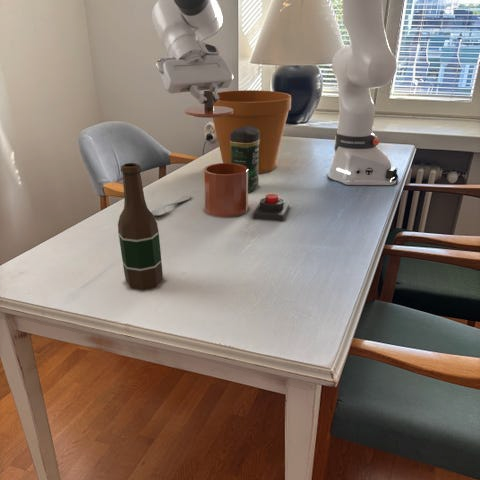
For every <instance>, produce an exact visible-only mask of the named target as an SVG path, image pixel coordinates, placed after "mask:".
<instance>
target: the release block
mask: <svg viewBox="0 0 480 480" xmlns="http://www.w3.org/2000/svg"><path fill="white" fill-rule="evenodd" d="M265 200H266V197H263V198H261V199H260V200H259V203H258V205H257V207H256V208H255V210H254V212H253V220H262V221H263V220H264V221H277V222H283V221H284V220H285V217H286V214H287V212H288V210H289V207H290V205H289V204H290V202H289V201H285V200H284V199H283V198H280V197H279V202H278V203H274V204H271V203H266V202H265Z"/></svg>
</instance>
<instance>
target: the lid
mask: <svg viewBox="0 0 480 480" xmlns="http://www.w3.org/2000/svg"><path fill="white" fill-rule="evenodd" d="M203 94H205V96H206V98H207V102H206V103H205V104H203V105H198V106H191V107H187V108H185V109H184V114H186V115H187V116H192V117H195V118H203V119H205V118H206V119H207V118H208V119H211V118H212V119H213V118H215V117H222V116H225V115H229V114H232V113H233V112H234V110H233V109H232V108H229V107H223V106H214V91H209V90H203Z"/></svg>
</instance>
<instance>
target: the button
mask: <svg viewBox="0 0 480 480" xmlns="http://www.w3.org/2000/svg"><path fill="white" fill-rule="evenodd" d="M265 198H266V200H265V202H266V203H271V204H274V203H278V202H279V198H280V196H279V194H275V193H268V194H265Z"/></svg>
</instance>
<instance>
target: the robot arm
mask: <svg viewBox="0 0 480 480" xmlns="http://www.w3.org/2000/svg"><path fill="white" fill-rule="evenodd" d="M151 19H152V24H153V27H154V29H155V32H156V34H157V37H158V38H159V40H160V43H161V44H162V45H163V46H164V48H165V50H166V54H167V56H168V57H165V58H164V57H161V58H158V60H157V61H156V64H155V65H156V68H157V70H158V72H159V73H160V77H161V81H162V84H163V87H164V89H165V90H166V91H167V92H168V93H169V94H179V93H180V94H182V93H190V95H191V96H193V97H194V98H195V99H196V100H197V101H198V103H199V104H200V105H204V104H205V103H206V102H207V98H206V96H205V94H204V93H201V91H214V102H218V101H219V96H218V94H217V93H218V90H220V89H228V88H229V87H230V86H231V84H232V83H233V79H234V74H233V72H232V70H231V68H230V66H229V64H228V63H227V61H226V59H225V58H224V57H223V56H221V55H220V53H221V51H220V49H219V47H218V46H216V45H214V44H213V45H212V44H209V43H206V42H204V41H206V40H207V39H209V38H211V37H213V36H214V35H216V34H217V33H218V32H219V31H220V29H221V28H222V25H223V21H224V14H223V11H222V8H221V5H220V2H219V0H157V1H156V2H155V3H154V5H153V7H152V11H151ZM342 24H343V27H344V29H345V30H346V33H347V35H348V38H349V42H350V44H349V45H346V46H343V47H341V48H339V49H338V50H337V51H336V52H335V54H334V56H333V58H332V61H331V69H332V72H333V75H334V76H335V80H336V85H337V92H338V102H339V104H338V107H339V108H338V109H339V111H338V122H337V132H336V133H335V136H334V147H333V149H334V154H333V158H332V163H331V166H330V169H329V172H328V175H327V176H328V178H329V179H331V180H333V181H336V182H340V183H342V184H343V185H347V186H393V185H395V184H396V183H397V180H398V178H399V175H398V167H393V166H392V163H391V159H390V158H389V156H387V155H386V153H385V152H383V150H381V149H380V148H379V147H378V145H379V144H380V138H379V137H378V136H377V134H374V133H373V130H374V124H375V123H374V122H375V115H376V106H375V103H374V101H373V98H372V94H371V90H372V89H379V88H383V87H385V86H387V85H388V84H389V83H391V81H392V80H393V79H394V77H395V74H396V72H397V59H396V57H395V55H394V53H393V52H392V50H391V48H390V45H389V42H388V39H387V34H386V29H385V23H384V0H342Z"/></svg>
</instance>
